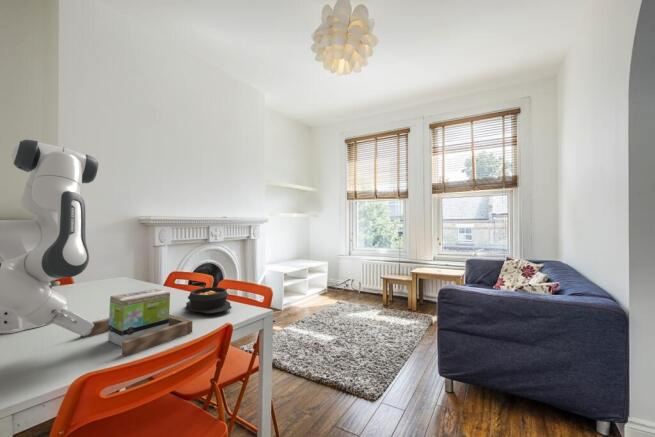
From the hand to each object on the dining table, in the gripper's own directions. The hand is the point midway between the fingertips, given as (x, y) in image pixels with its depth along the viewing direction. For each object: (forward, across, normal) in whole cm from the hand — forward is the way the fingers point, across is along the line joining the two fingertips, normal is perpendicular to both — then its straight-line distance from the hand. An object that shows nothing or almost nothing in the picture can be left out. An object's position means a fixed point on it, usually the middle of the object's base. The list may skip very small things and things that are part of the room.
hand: (87, 332), depth 89 cm
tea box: (+14, -2, -6) cm, 15 cm away
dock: (+14, 0, -6) cm, 16 cm away
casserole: (+37, +3, -29) cm, 47 cm away
